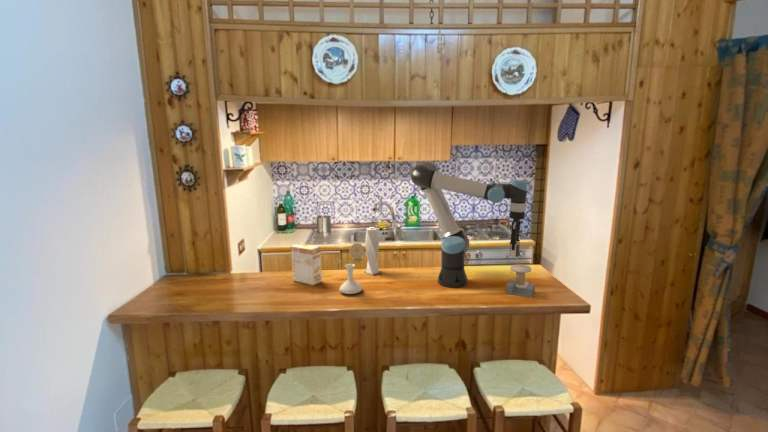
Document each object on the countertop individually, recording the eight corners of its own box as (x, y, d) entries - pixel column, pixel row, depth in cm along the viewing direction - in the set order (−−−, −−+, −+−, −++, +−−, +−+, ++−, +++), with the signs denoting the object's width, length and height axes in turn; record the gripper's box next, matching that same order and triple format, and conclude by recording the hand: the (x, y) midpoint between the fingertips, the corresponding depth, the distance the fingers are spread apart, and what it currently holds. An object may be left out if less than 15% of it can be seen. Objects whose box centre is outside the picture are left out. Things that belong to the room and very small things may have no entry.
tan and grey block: (509, 255, 214) (510, 242, 212) (510, 253, 217) (511, 240, 216) (517, 256, 212) (518, 243, 210) (519, 254, 216) (520, 241, 214)
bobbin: (507, 287, 207) (508, 269, 205) (511, 280, 216) (512, 263, 214) (528, 290, 202) (529, 271, 201) (531, 283, 211) (532, 266, 209)
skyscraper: (383, 272, 232) (382, 224, 226) (373, 276, 226) (372, 226, 220) (372, 269, 237) (371, 222, 232) (362, 273, 232) (361, 224, 226)
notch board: (505, 293, 199) (506, 285, 198) (509, 288, 206) (509, 280, 205) (531, 297, 193) (532, 289, 192) (534, 292, 200) (535, 284, 199)
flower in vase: (339, 297, 198) (338, 246, 193) (338, 288, 209) (337, 240, 204) (366, 295, 200) (365, 245, 195) (364, 286, 211) (363, 239, 206)
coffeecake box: (322, 281, 219) (320, 246, 215) (313, 285, 213) (311, 249, 210) (301, 276, 227) (299, 242, 223) (292, 280, 221) (290, 245, 217)
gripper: (522, 214, 201) (518, 260, 205) (527, 208, 216) (523, 251, 221) (506, 212, 204) (503, 257, 209) (512, 207, 219) (509, 249, 224)
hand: (513, 254), depth 215 cm, fingers closed on tan and grey block, 4 cm apart
